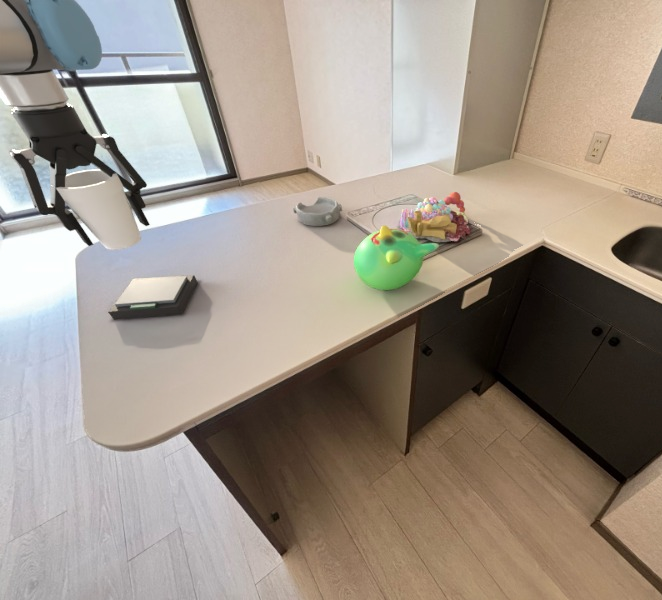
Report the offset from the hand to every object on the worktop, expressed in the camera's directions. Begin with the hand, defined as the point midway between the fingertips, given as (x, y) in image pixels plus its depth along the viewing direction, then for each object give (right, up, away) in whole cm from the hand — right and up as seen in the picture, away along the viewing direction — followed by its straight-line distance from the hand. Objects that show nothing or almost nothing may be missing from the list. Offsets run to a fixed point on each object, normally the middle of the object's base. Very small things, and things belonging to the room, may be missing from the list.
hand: (118, 232), depth 65 cm
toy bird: (+54, -9, +20) cm, 59 cm away
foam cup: (0, -2, +1) cm, 2 cm away
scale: (-1, -14, +12) cm, 18 cm away
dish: (+30, +14, +46) cm, 56 cm away
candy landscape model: (+69, +11, +45) cm, 83 cm away
